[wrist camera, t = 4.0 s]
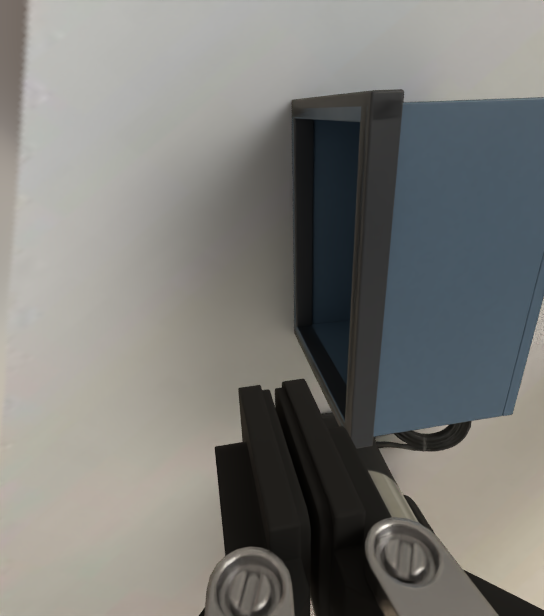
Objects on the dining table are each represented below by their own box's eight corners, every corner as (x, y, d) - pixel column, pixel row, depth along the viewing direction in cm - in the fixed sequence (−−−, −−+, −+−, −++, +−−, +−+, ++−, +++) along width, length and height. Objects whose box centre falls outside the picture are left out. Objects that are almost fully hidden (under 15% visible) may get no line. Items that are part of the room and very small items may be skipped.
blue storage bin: (432, 95, 26) (605, 82, 15) (406, 320, 33) (513, 423, 22) (291, 99, 25) (371, 90, 14) (294, 333, 32) (350, 450, 21)
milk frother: (258, 484, 37) (296, 688, 24) (322, 332, 32) (417, 488, 19) (393, 499, 42) (488, 679, 28) (470, 366, 36) (633, 513, 23)
